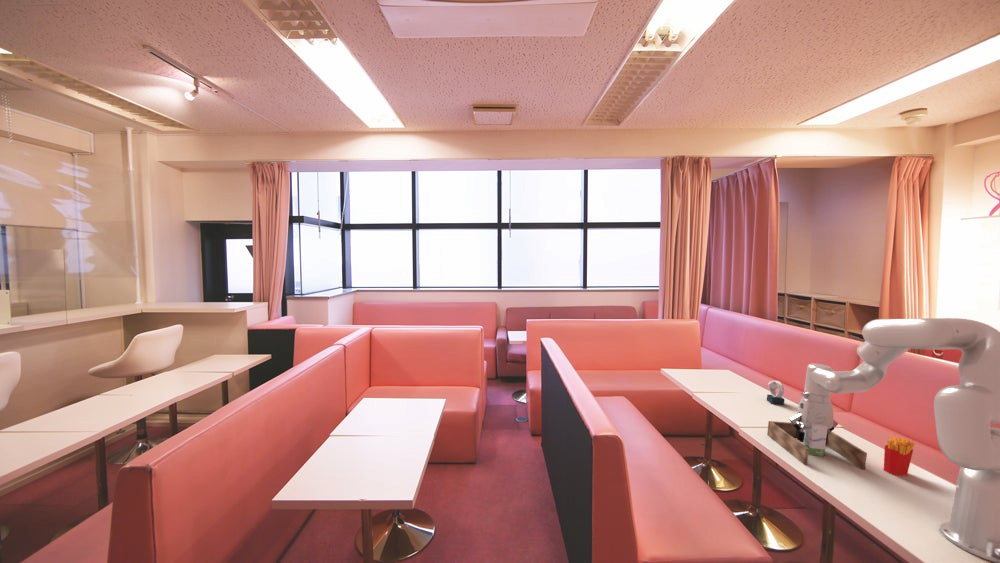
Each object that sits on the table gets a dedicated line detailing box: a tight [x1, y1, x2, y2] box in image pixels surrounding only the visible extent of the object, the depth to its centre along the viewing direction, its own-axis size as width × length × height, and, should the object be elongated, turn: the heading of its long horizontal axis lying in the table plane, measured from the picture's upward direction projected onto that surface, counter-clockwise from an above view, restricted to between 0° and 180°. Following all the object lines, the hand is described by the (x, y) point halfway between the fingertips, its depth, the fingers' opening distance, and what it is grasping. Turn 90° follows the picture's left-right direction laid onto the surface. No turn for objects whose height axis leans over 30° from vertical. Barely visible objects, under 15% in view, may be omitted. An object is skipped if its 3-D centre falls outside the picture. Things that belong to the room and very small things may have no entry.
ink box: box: [796, 423, 828, 457], centre depth 136 cm, size 8×5×12 cm, turn 167°
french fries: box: [883, 436, 916, 476], centre depth 124 cm, size 8×4×12 cm, turn 92°
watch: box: [766, 380, 786, 406], centre depth 179 cm, size 6×8×11 cm
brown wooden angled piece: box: [766, 420, 868, 470], centre depth 136 cm, size 20×20×6 cm
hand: (811, 440), depth 137 cm, fingers open, 7 cm apart
